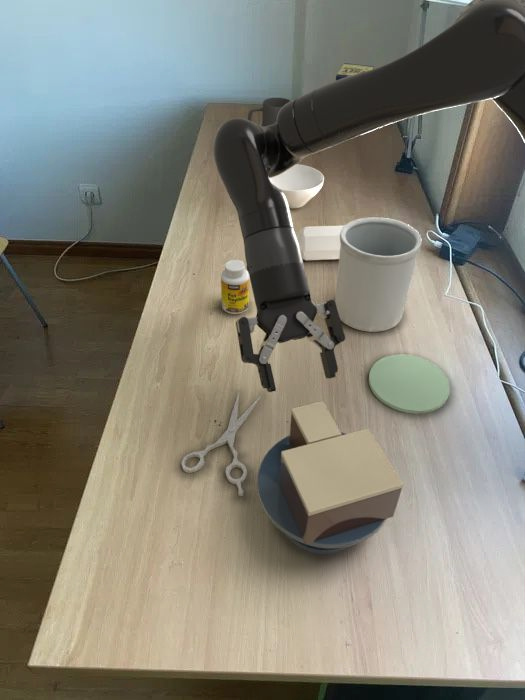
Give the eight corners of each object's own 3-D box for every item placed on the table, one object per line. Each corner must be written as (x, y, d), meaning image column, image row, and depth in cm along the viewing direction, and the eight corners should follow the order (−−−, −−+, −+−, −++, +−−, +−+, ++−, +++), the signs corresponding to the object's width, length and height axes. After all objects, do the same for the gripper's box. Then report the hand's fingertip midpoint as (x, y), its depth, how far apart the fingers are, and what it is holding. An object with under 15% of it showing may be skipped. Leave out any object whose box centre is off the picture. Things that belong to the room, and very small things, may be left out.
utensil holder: (322, 293, 119) (330, 219, 107) (388, 286, 122) (403, 212, 110) (344, 338, 108) (355, 261, 97) (416, 329, 111) (435, 252, 99)
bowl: (330, 212, 145) (332, 187, 141) (270, 219, 142) (271, 193, 138) (311, 185, 157) (313, 161, 152) (255, 191, 154) (255, 166, 149)
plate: (437, 357, 105) (438, 354, 104) (458, 413, 94) (459, 410, 94) (363, 357, 104) (363, 354, 104) (375, 413, 94) (376, 410, 94)
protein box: (368, 112, 201) (374, 65, 190) (361, 128, 189) (368, 78, 179) (339, 109, 203) (344, 62, 192) (330, 124, 191) (335, 75, 181)
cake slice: (318, 434, 80) (322, 400, 76) (335, 467, 76) (341, 433, 71) (288, 442, 79) (291, 408, 75) (304, 475, 75) (308, 442, 70)
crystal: (298, 252, 124) (404, 249, 125) (295, 224, 126) (399, 220, 128) (294, 267, 131) (395, 264, 133) (291, 240, 133) (390, 237, 135)
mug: (289, 135, 184) (291, 97, 176) (291, 146, 177) (293, 107, 169) (247, 135, 183) (247, 97, 175) (248, 146, 176) (248, 107, 168)
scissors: (174, 475, 83) (221, 383, 97) (175, 478, 84) (221, 386, 98) (242, 494, 81) (280, 397, 95) (242, 497, 82) (280, 400, 96)
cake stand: (350, 450, 88) (363, 383, 78) (408, 552, 76) (432, 487, 66) (240, 480, 84) (239, 413, 74) (283, 594, 71) (288, 531, 61)
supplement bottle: (225, 317, 113) (223, 274, 106) (219, 301, 117) (217, 259, 110) (252, 313, 114) (252, 270, 107) (245, 297, 118) (245, 255, 111)
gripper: (230, 270, 71) (258, 396, 70) (333, 252, 74) (361, 372, 74) (220, 282, 78) (245, 396, 78) (315, 265, 82) (339, 374, 81)
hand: (301, 384), depth 76 cm, fingers open, 8 cm apart
